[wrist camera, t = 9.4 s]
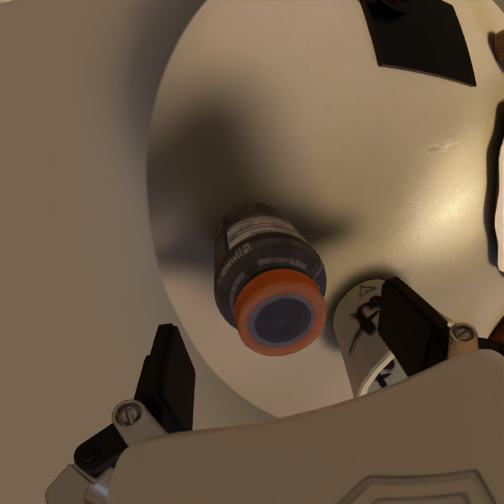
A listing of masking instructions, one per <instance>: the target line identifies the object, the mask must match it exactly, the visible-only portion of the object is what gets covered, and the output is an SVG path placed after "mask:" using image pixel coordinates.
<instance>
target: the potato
mask: <svg viewBox="0 0 504 504" xmlns="http://www.w3.org/2000/svg"><path fill="white" fill-rule="evenodd" d="M491 339H492V340H498V341H504V323H502V324H501V325H500V326H499V327H498V328H497V330H496V331H495V332H494V334H493V335H492V337H491Z"/></svg>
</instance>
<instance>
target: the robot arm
mask: <svg viewBox="0 0 504 504" xmlns="http://www.w3.org/2000/svg"><path fill="white" fill-rule="evenodd" d="M377 331H378V334H379V336H380V337H381V339H382V340H383V341H384V343H385V344H386V345H387V347H388V348H389V349H390V351H391V352H392V354H393V355H394V356H395V358H396V359H397V360H398V362H399V363H400V365H401V366H402V367H403V369H404V370H405V372H406V373H407V374H408V376H409V377H408V378H406V379H403V380H401V381H399V382H396V383H394V384H391V385H389V386H386V387H384V388H381V389H378V390H376V391H373V392H370V393H367V394H364V395H362V396H359V397H356V398H353V399H350V400H347V401H343V402H340V403H337V404H334V405H330V406H327V407H323V408H319V409H316V410H312V411H308V412H304V413H300V414H295V415H291V416H287V417H282V418H277V419H272V420H267V421H262V422H256V423H249V424H243V425H235V426H228V427H221V428H212V429H202V430H194V431H192V425H193V407H194V389H195V369H194V367H193V364H192V362H191V360H190V357H189V355H188V352H187V350H186V348H185V345H184V342H183V340H182V337H181V335H180V332H179V329H178V327H177V326H173V324H171V323H170V324H163V325H159V326H158V329H157V332H156V336H155V339H154V343H153V346H152V349H151V353H150V355H148V356H146V358H145V360H144V364H143V367H142V371H141V375H140V378H139V382H138V385H137V389H136V393H135V396H134V399H133V400H132V399H130V400H125V401H123V402H121V403H119V404H118V405H117V406H116V407H115V408H114V410H113V412H112V421H113V423H112V424H111V425H109V426H108V427H106V428H105V429H103V430H102V431H100V432H99V433H97V434H96V435H94V436H93V437H91V438H90V439H88V440H86V441H85V442H84V443H82V444H81V445H79V447H77V449H76V450H75V453H74V461H75V463H74V464H73V465H70V464H69V465H68V466H67V467H66V468H65V469H64V470H63V471H62V472H61V474H60V475H59V476H58V477H57V478H56V479H55V480H54V482H53V483H52V484H51V485H50V486H49V487H48V488H47V490H46V492H45V500H46V502H47V504H504V341H498V340H492V339H486V338H479V337H478V334H477V331H476V330H475V328H474V327H473V326H471V325H469V324H467V323H463V322H460V323H455V324H453V325H452V326H451V327H449V326H448V321H447V320H446V319H445V318H444V317H443V316H442V315H441V314H439V313H438V312H437V311H436V310H435V309H434V308H433V307H432V306H431V305H430V304H428V303H427V302H426V301H425V300H424V299H423V298H422V297H421V296H419V295H418V294H417V293H416V292H415V291H414V290H413V289H411V288H410V287H409V286H408V285H407V284H406V283H404V282H403V281H402V280H401V279H400V278H398V277H392V278H388V279H386V280H385V282H384V283H383V284H382V289H381V301H380V310H379V319H378V327H377Z"/></svg>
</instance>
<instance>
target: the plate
mask: <svg viewBox="0 0 504 504" xmlns="http://www.w3.org/2000/svg"><path fill="white" fill-rule="evenodd" d="M494 229H495V233H496V238H497V266H498V269H499V270H500V271H502V272H504V135H503V138H502V142H501V146H500V149H499V155H498V169H497V179H496V201H495V211H494Z"/></svg>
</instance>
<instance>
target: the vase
mask: <svg viewBox="0 0 504 504" xmlns="http://www.w3.org/2000/svg"><path fill="white" fill-rule="evenodd" d="M493 47H494V51H495V54H496V56H497V58H498V60H499V61H500V63H501V64H502V65H503V66H504V30H502V31H500V32H498V33H497V34H496V35H495V37H494V41H493Z"/></svg>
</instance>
